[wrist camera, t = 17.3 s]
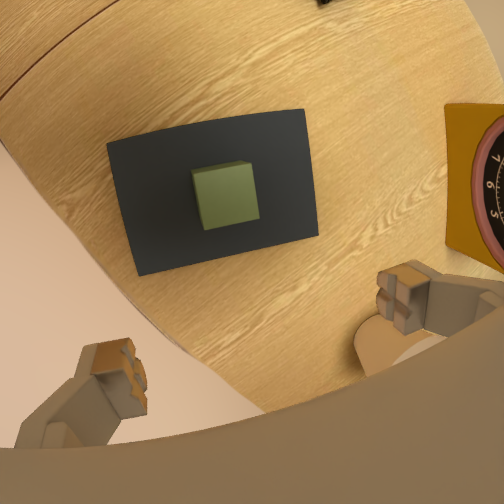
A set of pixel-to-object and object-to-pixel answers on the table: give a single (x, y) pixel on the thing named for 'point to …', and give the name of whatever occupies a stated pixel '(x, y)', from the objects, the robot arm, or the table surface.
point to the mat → (183, 194)
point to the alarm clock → (476, 181)
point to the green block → (225, 194)
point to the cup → (388, 344)
